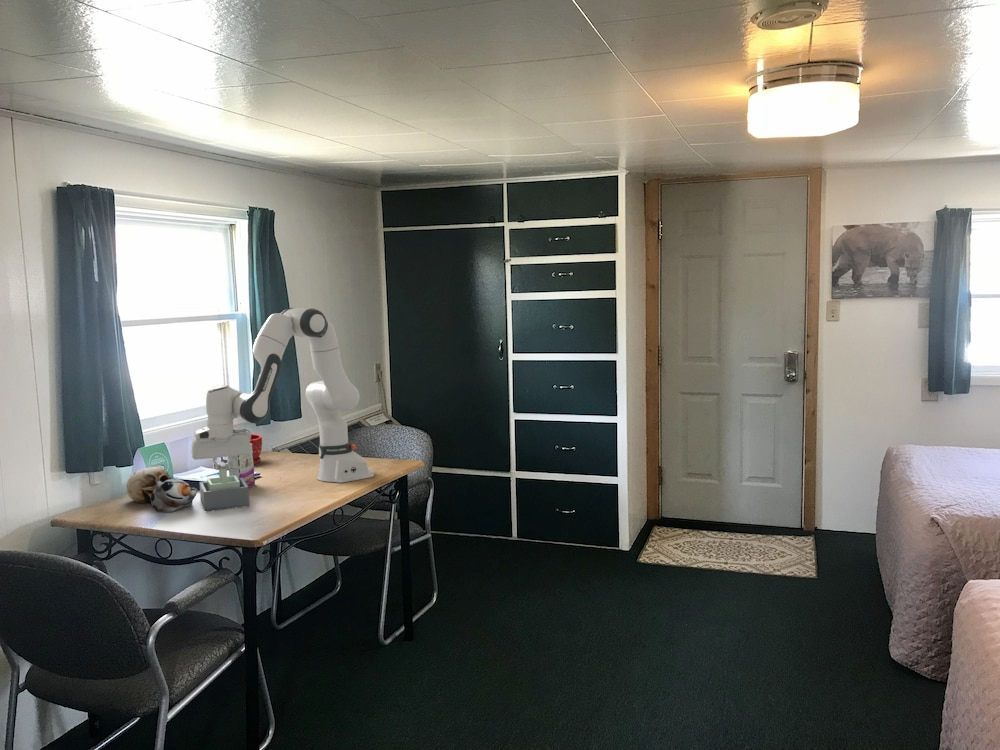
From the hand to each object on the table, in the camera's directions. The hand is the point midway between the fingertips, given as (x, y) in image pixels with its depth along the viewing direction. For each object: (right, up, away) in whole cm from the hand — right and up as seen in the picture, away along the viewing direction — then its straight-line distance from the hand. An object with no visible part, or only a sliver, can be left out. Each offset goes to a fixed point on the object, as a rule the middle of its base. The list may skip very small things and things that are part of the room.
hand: (222, 468), depth 296 cm
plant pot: (-11, -5, +64) cm, 65 cm away
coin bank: (-27, -13, +7) cm, 30 cm away
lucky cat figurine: (-15, -14, -4) cm, 21 cm away
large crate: (0, -13, +2) cm, 13 cm away
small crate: (0, -9, +1) cm, 9 cm away
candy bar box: (0, -10, +23) cm, 26 cm away
